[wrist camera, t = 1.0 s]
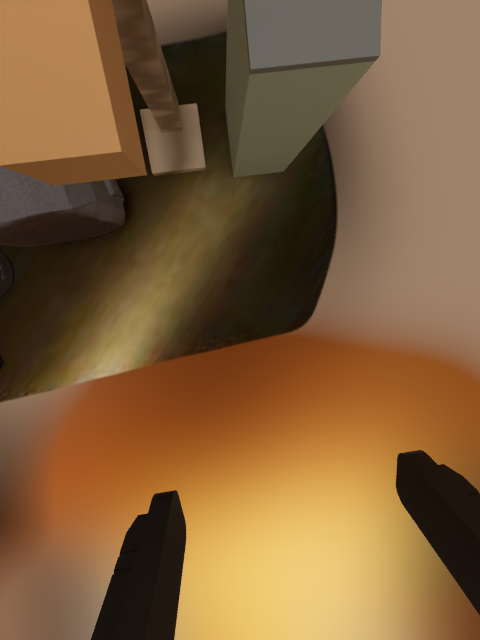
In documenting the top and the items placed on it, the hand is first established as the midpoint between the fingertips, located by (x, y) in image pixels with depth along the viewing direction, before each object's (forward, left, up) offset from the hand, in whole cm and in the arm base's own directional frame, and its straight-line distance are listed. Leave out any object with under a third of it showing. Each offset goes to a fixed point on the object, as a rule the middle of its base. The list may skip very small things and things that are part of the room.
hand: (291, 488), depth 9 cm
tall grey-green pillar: (+6, +23, -38) cm, 45 cm away
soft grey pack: (-21, +16, -38) cm, 47 cm away
